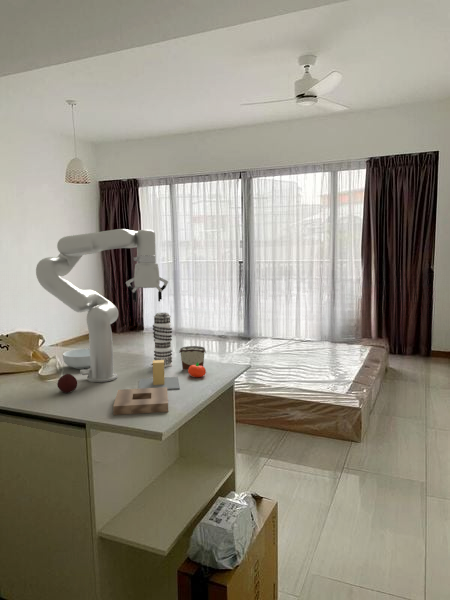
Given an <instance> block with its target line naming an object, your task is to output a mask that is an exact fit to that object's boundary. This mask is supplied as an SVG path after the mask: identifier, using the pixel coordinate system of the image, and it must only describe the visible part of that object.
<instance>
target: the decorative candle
mask: <svg viewBox="0 0 450 600" xmlns="http://www.w3.org/2000/svg"><path fill="white" fill-rule="evenodd" d="M153 321H154V322H153V324H152V327H153V328H152V330H153V332H152V334H153V336H152V337H153V342H154V350H153V352H154V354H153V356H154V357H153V360H164V368H167V367H172V365H173V357H172V355H173V353H172V352H173V350H172V346H171V345H172V343H171V342H172V341H173V338H172V337H173V335H172V333H173V331H172V330H173V328H172V327H171V325H172V323H171V315H170V314H169V313H168V312H157V313H155V315H154V316H153Z"/></svg>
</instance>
